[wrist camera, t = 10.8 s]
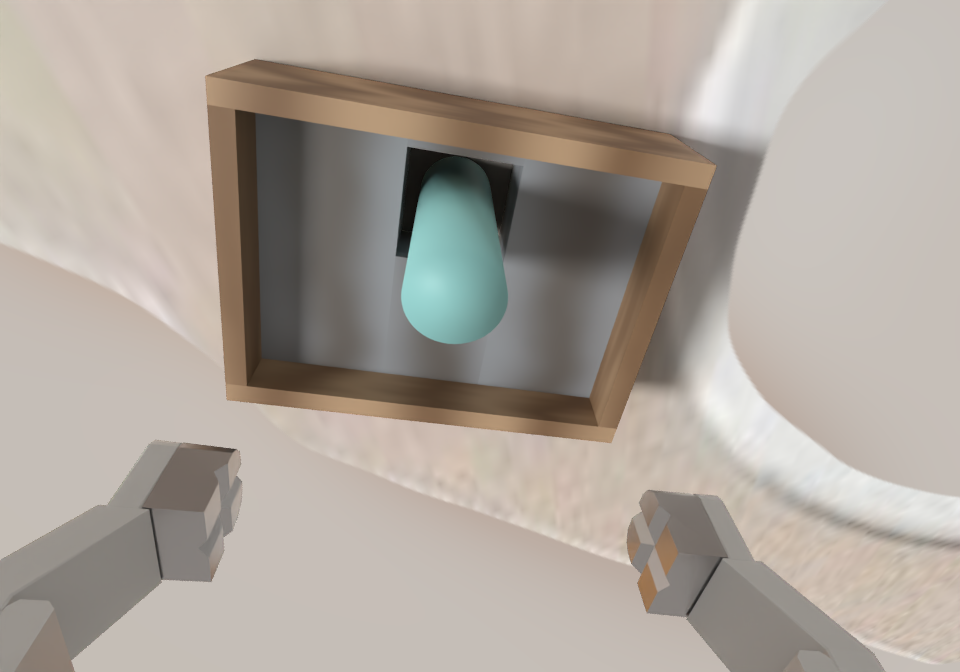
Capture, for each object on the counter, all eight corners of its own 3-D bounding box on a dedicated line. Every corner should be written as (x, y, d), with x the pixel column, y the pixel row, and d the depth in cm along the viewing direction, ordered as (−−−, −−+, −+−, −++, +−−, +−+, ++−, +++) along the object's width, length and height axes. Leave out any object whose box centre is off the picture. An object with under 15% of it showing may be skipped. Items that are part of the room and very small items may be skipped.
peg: (425, 151, 28) (407, 241, 18) (496, 162, 29) (517, 257, 19) (416, 219, 30) (396, 336, 20) (483, 229, 31) (497, 350, 20)
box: (262, 337, 34) (226, 400, 28) (254, 59, 26) (205, 75, 21) (589, 378, 36) (611, 442, 31) (669, 134, 28) (717, 165, 23)
